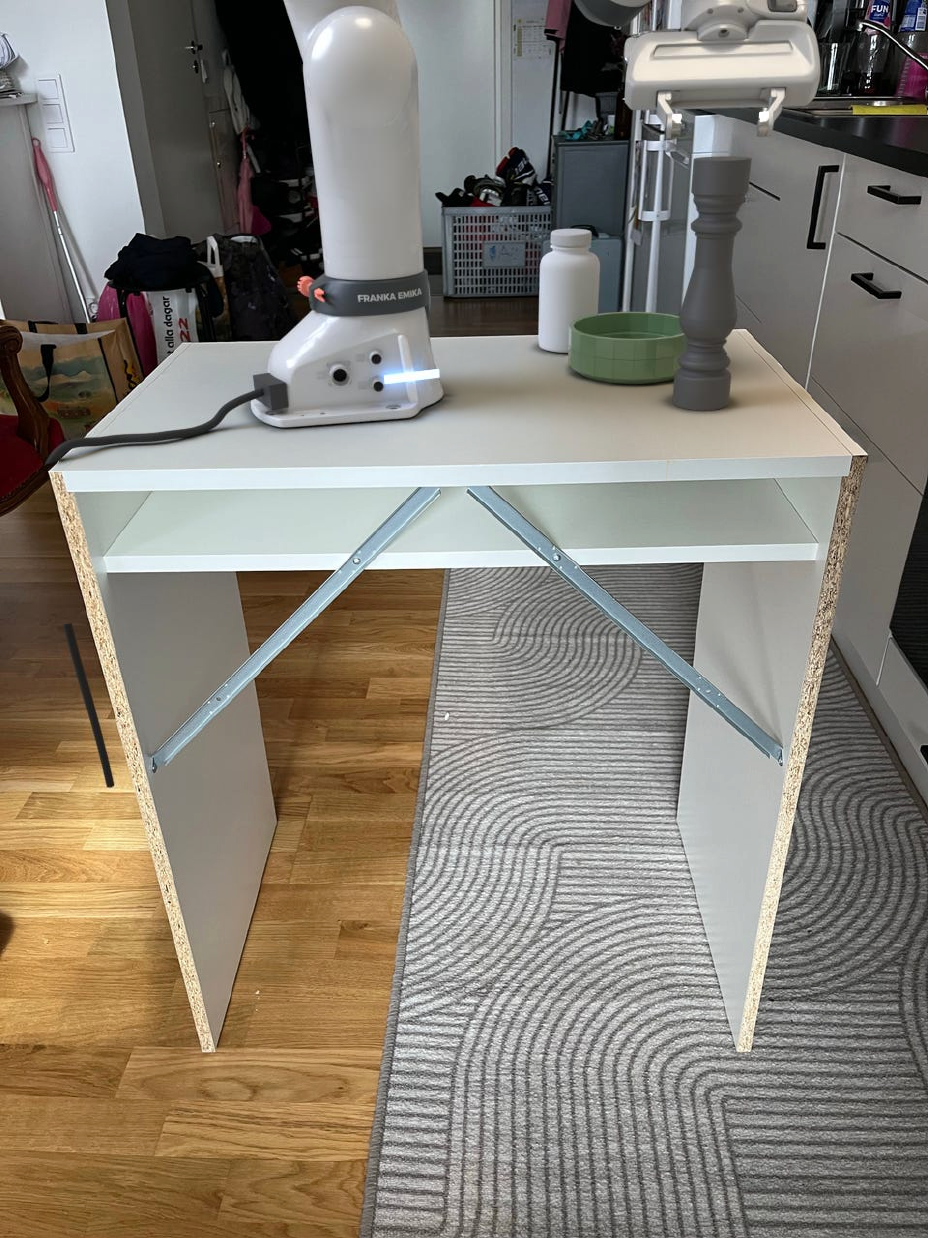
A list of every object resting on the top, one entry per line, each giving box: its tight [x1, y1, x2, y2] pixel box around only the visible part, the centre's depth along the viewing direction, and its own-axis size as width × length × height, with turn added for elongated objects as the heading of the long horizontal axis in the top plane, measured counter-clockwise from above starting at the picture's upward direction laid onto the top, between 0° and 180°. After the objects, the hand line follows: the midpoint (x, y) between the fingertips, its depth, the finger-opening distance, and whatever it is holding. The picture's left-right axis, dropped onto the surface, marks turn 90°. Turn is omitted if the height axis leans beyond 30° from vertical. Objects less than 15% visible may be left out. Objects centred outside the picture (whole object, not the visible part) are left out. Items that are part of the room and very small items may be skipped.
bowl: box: [567, 311, 687, 385], centre depth 122 cm, size 16×16×6 cm
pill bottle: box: [538, 228, 601, 354], centre depth 131 cm, size 8×8×15 cm
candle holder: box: [671, 155, 753, 412], centre depth 104 cm, size 6×6×25 cm
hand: (718, 133), depth 103 cm, fingers open, 8 cm apart
